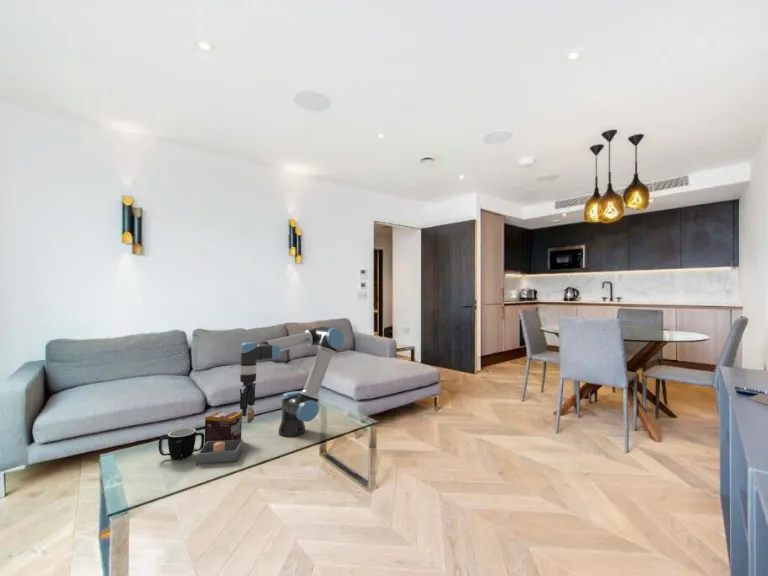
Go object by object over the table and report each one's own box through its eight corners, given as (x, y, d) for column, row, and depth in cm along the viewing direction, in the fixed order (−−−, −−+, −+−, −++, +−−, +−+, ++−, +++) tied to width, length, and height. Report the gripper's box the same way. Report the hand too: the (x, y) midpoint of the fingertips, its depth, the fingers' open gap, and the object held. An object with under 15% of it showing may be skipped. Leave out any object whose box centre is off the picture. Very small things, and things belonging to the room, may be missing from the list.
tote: (242, 449, 186) (242, 439, 186) (236, 462, 171) (236, 451, 171) (206, 451, 183) (206, 441, 183) (196, 465, 168) (196, 454, 168)
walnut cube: (253, 419, 183) (254, 409, 183) (249, 422, 178) (250, 412, 178) (243, 419, 183) (244, 409, 183) (239, 422, 178) (240, 412, 178)
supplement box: (230, 448, 187) (230, 418, 187) (204, 446, 190) (204, 416, 190) (241, 441, 197) (242, 412, 197) (217, 439, 200) (217, 410, 200)
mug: (188, 447, 188) (188, 424, 189) (207, 454, 180) (207, 429, 181) (155, 459, 174) (156, 434, 175) (174, 467, 166) (174, 440, 166)
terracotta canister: (225, 455, 177) (225, 440, 177) (223, 459, 172) (223, 444, 172) (214, 456, 175) (214, 442, 176) (212, 460, 171) (212, 445, 171)
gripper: (248, 370, 190) (247, 414, 189) (232, 376, 172) (231, 426, 171) (262, 370, 190) (261, 414, 189) (248, 377, 172) (247, 426, 171)
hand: (247, 420), depth 180 cm, fingers closed on walnut cube, 5 cm apart
